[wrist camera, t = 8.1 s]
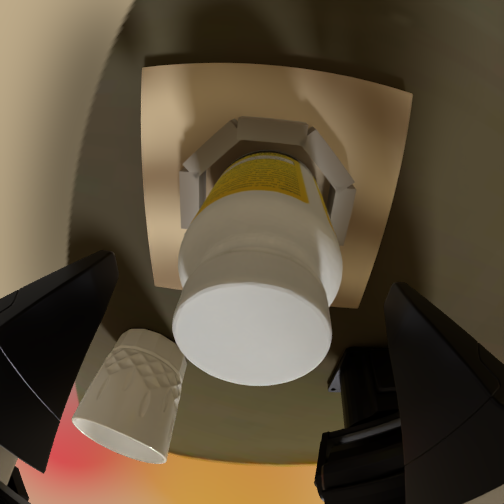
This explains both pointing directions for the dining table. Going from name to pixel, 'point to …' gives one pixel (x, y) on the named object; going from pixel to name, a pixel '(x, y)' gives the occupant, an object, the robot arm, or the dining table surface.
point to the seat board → (271, 138)
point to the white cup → (135, 397)
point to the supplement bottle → (258, 274)
